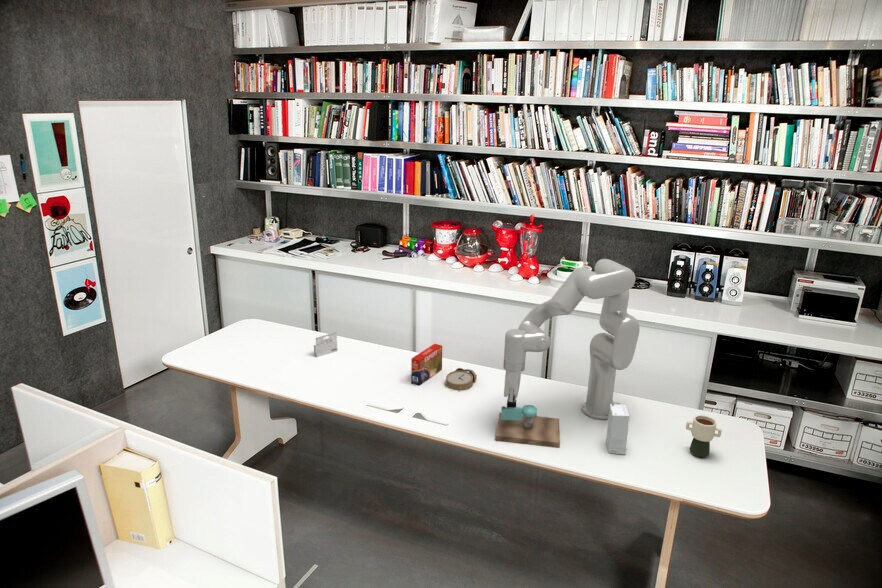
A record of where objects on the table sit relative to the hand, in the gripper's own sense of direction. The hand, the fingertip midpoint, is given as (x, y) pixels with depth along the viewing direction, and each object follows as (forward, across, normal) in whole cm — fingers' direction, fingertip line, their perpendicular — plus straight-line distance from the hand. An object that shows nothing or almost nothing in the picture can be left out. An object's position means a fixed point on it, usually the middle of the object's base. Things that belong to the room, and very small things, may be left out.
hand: (511, 410), depth 213 cm
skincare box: (+7, +4, +37) cm, 38 cm away
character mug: (+7, +2, +65) cm, 65 cm away
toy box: (+8, -32, -38) cm, 51 cm away
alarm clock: (+8, -30, -23) cm, 39 cm away
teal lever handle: (+2, +2, +3) cm, 4 cm away
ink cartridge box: (+8, -44, -89) cm, 99 cm away
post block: (+7, +1, +7) cm, 10 cm away
